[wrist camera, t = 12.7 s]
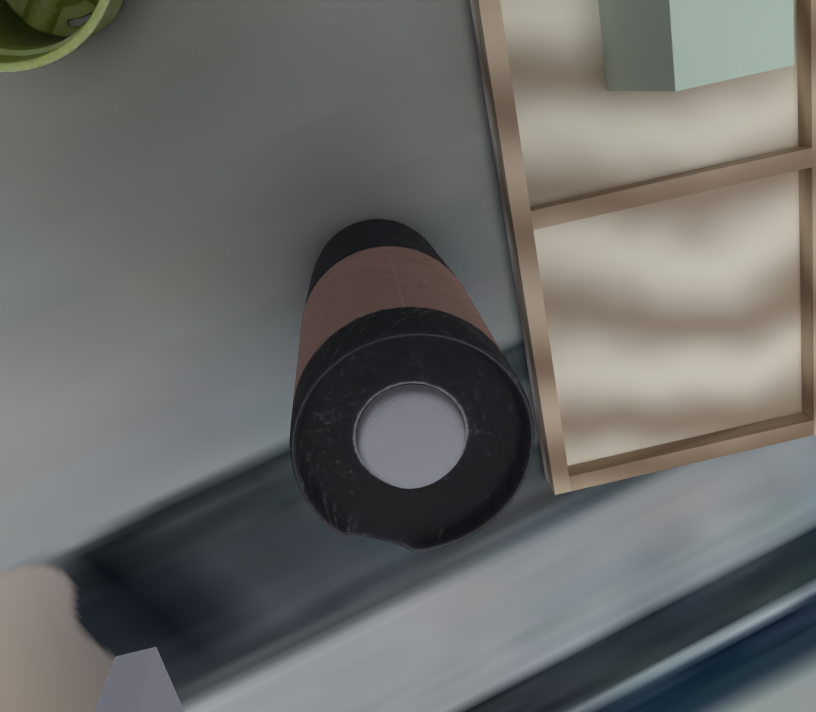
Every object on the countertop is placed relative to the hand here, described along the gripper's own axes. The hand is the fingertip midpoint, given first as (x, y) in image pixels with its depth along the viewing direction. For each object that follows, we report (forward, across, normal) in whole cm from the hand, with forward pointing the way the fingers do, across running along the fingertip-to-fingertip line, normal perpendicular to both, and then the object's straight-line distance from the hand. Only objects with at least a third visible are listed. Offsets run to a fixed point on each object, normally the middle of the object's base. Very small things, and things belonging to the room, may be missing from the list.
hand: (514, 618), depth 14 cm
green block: (+28, +15, +9) cm, 33 cm away
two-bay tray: (+28, +15, +1) cm, 32 cm away
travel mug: (+29, -1, 0) cm, 29 cm away
